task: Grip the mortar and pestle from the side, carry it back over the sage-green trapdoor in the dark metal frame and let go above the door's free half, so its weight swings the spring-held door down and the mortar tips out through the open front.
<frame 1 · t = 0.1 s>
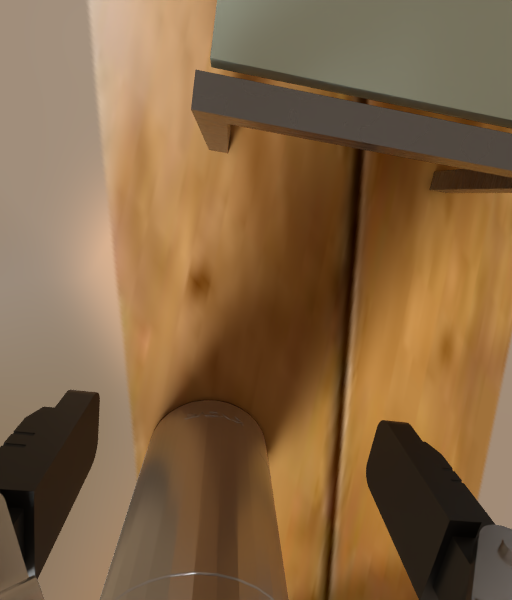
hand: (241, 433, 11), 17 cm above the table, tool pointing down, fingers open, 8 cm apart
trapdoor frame: (345, 40, 24), on the table
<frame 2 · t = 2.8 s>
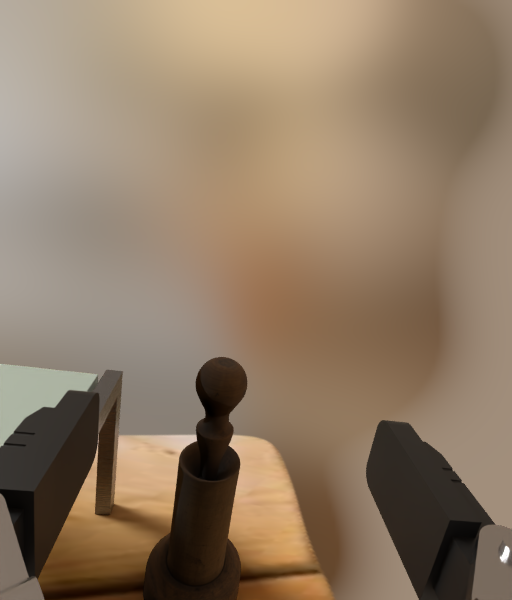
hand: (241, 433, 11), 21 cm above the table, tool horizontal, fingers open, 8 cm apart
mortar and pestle: (191, 590, 28), on the table
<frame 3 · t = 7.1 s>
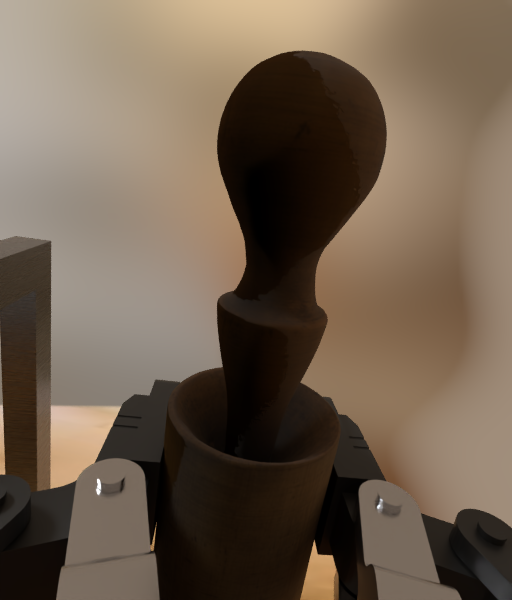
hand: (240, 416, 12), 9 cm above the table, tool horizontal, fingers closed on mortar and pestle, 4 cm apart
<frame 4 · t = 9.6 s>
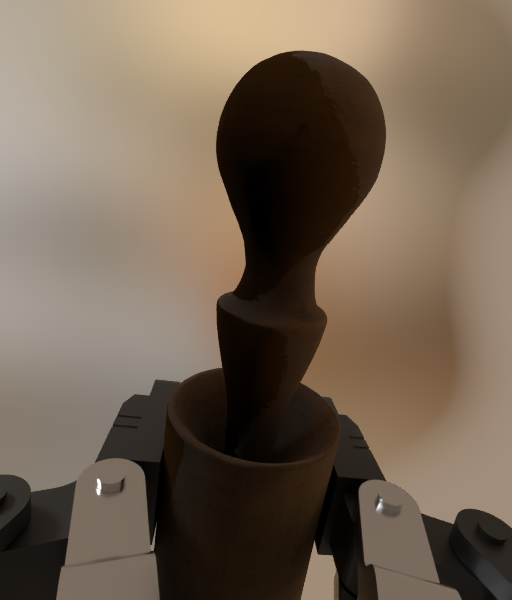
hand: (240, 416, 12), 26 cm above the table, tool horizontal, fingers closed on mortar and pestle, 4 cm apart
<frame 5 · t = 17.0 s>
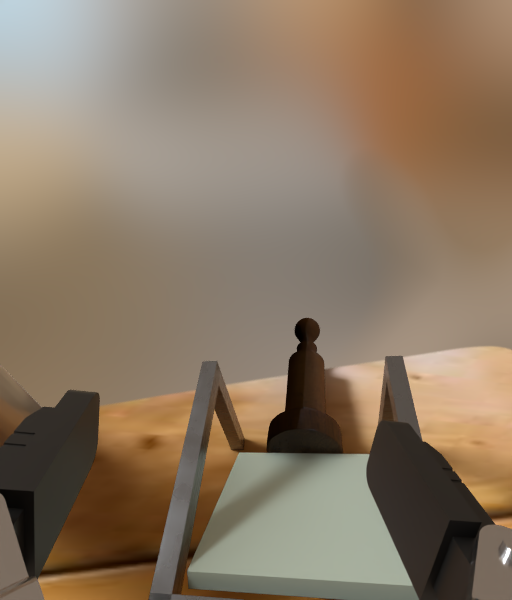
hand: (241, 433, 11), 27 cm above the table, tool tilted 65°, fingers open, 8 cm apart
trapdoor: (303, 506, 27), point 8 cm above the table, hinge at -38.9°, touching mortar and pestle
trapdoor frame: (309, 520, 34), on the table
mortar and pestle: (304, 455, 34), point 4 cm above the table, touching trapdoor
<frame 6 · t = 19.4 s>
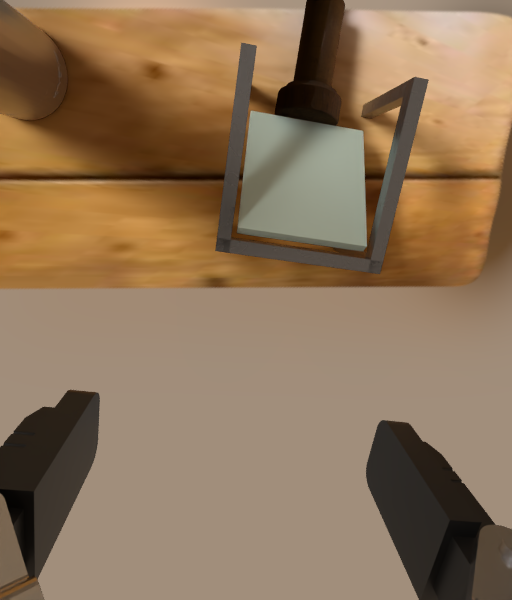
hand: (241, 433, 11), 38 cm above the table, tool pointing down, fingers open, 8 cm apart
trapdoor: (304, 178, 39), point 8 cm above the table, hinge at -38.9°, touching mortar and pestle
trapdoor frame: (295, 164, 45), on the table
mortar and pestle: (305, 122, 41), point 4 cm above the table, touching trapdoor
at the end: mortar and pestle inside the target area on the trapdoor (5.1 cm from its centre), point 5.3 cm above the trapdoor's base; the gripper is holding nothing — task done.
